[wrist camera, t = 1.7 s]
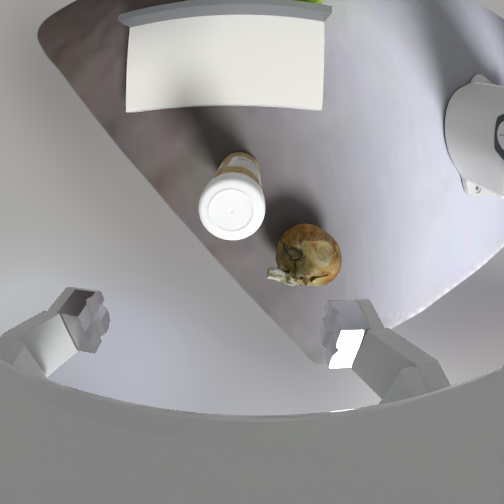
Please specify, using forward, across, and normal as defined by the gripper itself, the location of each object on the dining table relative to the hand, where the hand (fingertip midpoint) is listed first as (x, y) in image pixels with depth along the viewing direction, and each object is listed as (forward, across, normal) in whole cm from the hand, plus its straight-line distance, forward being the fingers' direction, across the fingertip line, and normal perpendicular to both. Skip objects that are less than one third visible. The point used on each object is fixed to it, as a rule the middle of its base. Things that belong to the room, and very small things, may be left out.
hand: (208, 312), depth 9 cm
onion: (+24, -8, +9) cm, 27 cm away
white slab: (+23, +2, -13) cm, 27 cm away
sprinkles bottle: (+24, 0, 0) cm, 24 cm away
